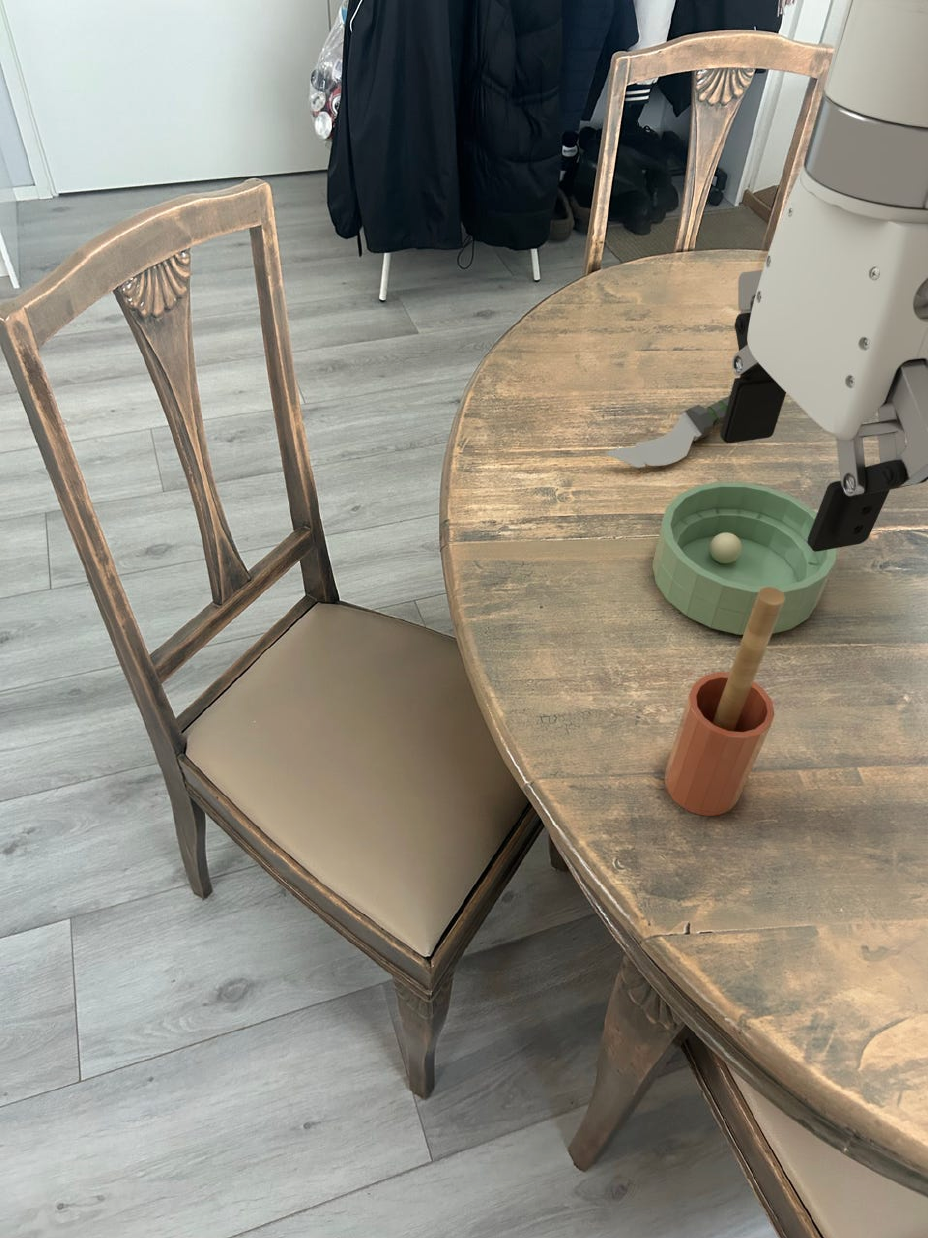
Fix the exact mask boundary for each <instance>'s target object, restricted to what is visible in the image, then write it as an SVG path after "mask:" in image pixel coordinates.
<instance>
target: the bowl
mask: <svg viewBox="0 0 928 1238" xmlns="http://www.w3.org/2000/svg"><path fill="white" fill-rule="evenodd" d="M817 513H818V511H816V510H815V509H813V508H812V507H810V506H809V505H807V504H806V503H804V502H803V501H801V500H799V498H798V499H797V498H796V497H794V496H792V495H790V494H787V493H785V492H782V491H780V490H778V489H775V488H773V487H770V486H767V485H761V484H756V483H751V482H746V481H716V482H709V483H704V484H699V485H696V486H693V487H691V488H690V489H687V490H685V491H683V492H681V493H679V494H678V495H677V496H676V497H675V498H674V499H673V500H672V501H671V502H670V503H669V504H668V505H667V506H666V508H665V511H664V514H663V517H662V521H661V525H660V530H659V534H658V538H657V543H656V547H655V551H654V557H653V561H652V566H651V567H652V571H653V575H654V581H655V584H656V586H657V587H658V589H659V591H660V592H661V594H662V595H663V596H664V598H665V600H666V601H667V602H668V603H670V604H671V605H672V606H673V607H675V609H676V610H678V611H680V612H681V613H682V614H683V615H684V616H686V617H687V618H689V619H691V620H692V621H693V620H694V621H695V622H698V623H700V624H702V625H704V626H706V627H708V628H710V629H713V630H717V631H722V632H725V633H729V634H734V635H739V636H743V635H744V632H745V629H746V627H747V624H748V621H749V618H750V615H751V613H752V610H753V607H754V604H755V601H756V599H757V596H758V593H759V591H760V590H761V589H762V588H765V587H773V588H776V589H778V590H780V591H781V592H782V593H783V594H784V596H785V601H784V604H783V607H782V609H781V612H780V614H779V617H778V619H777V622H776V624H775V627H774V630H773V632H772V635H773V634H777V633H781V632H785V631H790V630H792V629H793V628H795V627H796V626H798V625H800V624H802V623H803V622H805V621H807V620H808V619H809V617H810V616H811V614H812V613H813V611H814V610H815V608H816V607H817V605H818V604H819V601H820V599H821V597H822V595H823V592H824V590H825V588H826V586H827V583H828V581H829V579H830V576H831V573H832V572H833V568H834V566H835V565H836V562H837V552H838V551H837V550H838V548H835V549H829V550H824V551H818V552H815V551H813V550H812V549H811V547H810V546H809V545H808V543H807V541H808V536H809V533H810V531H811V528H812V526H813V523H814V520H815V518H816V515H817ZM725 532H727V533H732V534H734V535H736V536H737V537H738V538H739V540H740V542H741V545H742V550H741V554H740V555H739V557H738V558H737V559H736V560H735V561H733V562H731V563H720V562H718V561H716V560H715V559H714V558H713V557H712V556H711V554H710V543H711V541H712V539H713V538H714V537H715V536H716V535H718V534H720V533H725Z"/></svg>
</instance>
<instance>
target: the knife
mask: <svg viewBox="0 0 928 1238" xmlns="http://www.w3.org/2000/svg"><path fill="white" fill-rule="evenodd" d="M729 398H730V395H728V396H726V397H723V398H722V399H720V400H718V402H714V403H713V404H710V405H708V406H707V407H705V406H702V405H701V404H697V405H694V406H692V407H690V408H688V409H685V410H684V411H681V413H680V415H679V416H678V417H677V419H678V421H677V422H676V424H675V425H674V426H673V427H672V429H671V430H670V431H669V432H667V433H665V434H664V435H662V436H661V437H657V438H654V439H650V440H645V441H644V440H643V441H638V442H636V443H635V444H634V446H624V447H619V448H615V449H611V450H606V451H604V454H606V455H607V456H610V457H612V458H614V459H616V460H619V461H622V462H623V463H626V464H628V465H630V466H632V467H635V468H637V469H639V468H645V467H646V465H647V466H649V467H658V466H659V467H660V466H661V467H663V466H667V465H671V464H674V463H677V462H679V461H680V460H682V459H683V458H685V457H687V456H688V454H689V451H690V448H691V446H692V443H694V442H696V441H698V440H700V439H703V438H705V437H708V436H709V435H710V433H711V431H712V428H713V427H715V426H717V425H719V424H723V421H724V417H725V413H726V409H727V406H728V402H729Z"/></svg>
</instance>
